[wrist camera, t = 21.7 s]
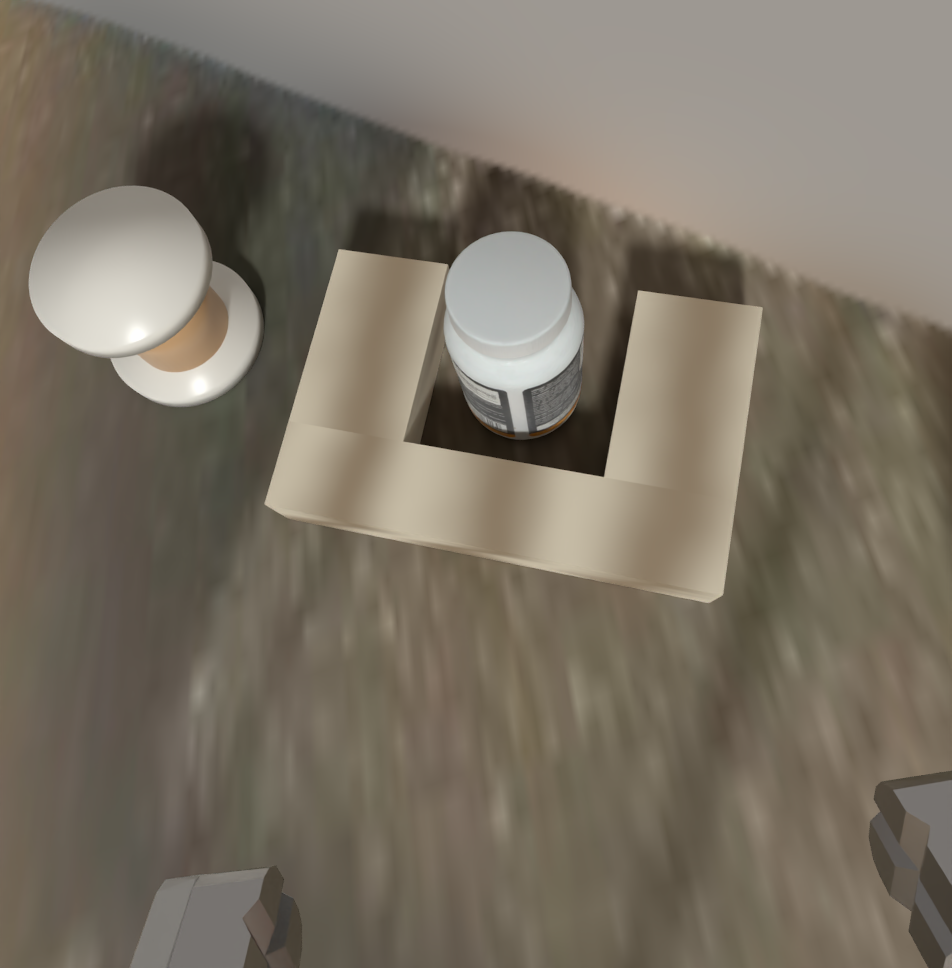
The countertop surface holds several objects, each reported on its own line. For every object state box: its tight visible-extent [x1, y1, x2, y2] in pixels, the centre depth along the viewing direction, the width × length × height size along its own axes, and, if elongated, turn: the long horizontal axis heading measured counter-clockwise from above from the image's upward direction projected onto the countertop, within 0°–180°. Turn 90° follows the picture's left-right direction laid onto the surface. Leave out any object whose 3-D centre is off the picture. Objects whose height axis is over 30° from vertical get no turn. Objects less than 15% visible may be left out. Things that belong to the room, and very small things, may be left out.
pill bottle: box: [444, 231, 584, 440], centre depth 32 cm, size 6×6×10 cm
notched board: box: [265, 249, 763, 603], centre depth 34 cm, size 20×13×3 cm, turn 79°
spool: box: [29, 186, 264, 407], centre depth 36 cm, size 8×8×7 cm
